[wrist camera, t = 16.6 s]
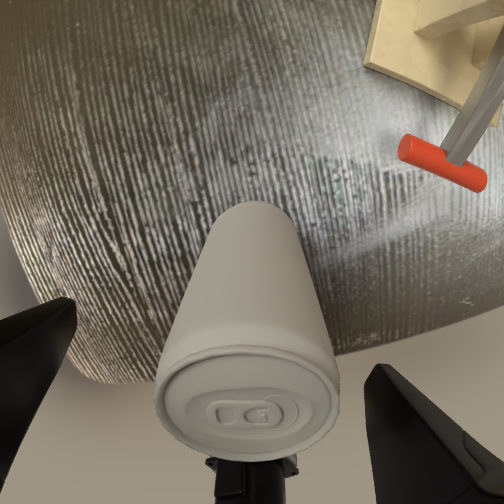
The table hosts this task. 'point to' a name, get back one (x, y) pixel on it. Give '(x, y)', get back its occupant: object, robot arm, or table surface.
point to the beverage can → (249, 345)
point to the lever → (463, 129)
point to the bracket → (435, 44)
